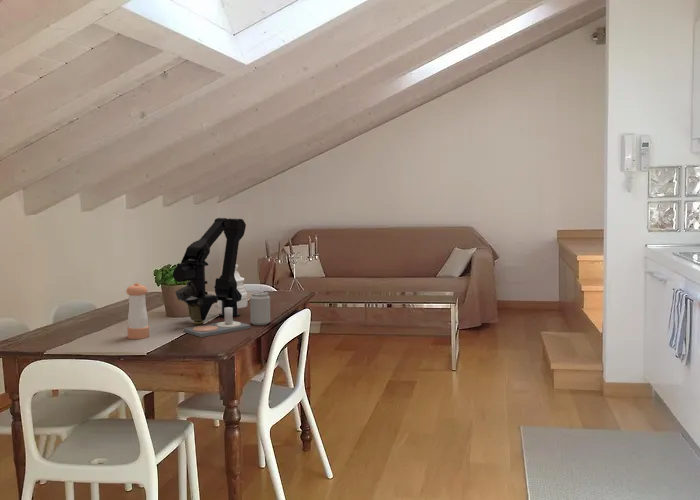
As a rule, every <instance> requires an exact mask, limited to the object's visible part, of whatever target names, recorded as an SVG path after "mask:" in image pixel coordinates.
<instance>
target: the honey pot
mask: <svg viewBox="0 0 700 500" xmlns="http://www.w3.org/2000/svg"><path fill="white" fill-rule="evenodd" d="M238 268H239V264H236V267H235V274H234V277H235V280H236V282H237V290H238V291H239V292H240V294H241V295H242V297H241V300H240V301H238V302H237V309H241V308H242V309H243V308H247V307H248V304H249V303H248V301H249V300H248V292H247V290H246V285H245V284H244V281H245V277H241V275H240V273H239V271H238V270H237V269H238ZM217 307H218V308H220V309H222V300H218V302H217Z"/></svg>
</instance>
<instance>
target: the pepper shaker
mask: <svg viewBox="0 0 700 500" xmlns="http://www.w3.org/2000/svg"><path fill="white" fill-rule="evenodd" d="M147 293H148V288H147V287H146V286H145V285H143V284H140V283H139V282H134V284H131V285H129V286H128V287H127V289H126V294H127V295H128V306H129V307H128V315H127V322H128V327H127V329H126V330H127V338H128V339H131V340H142V339H147V338H149V337H150V326H149V324H148V321H149V318H148V317H149V316H148V312H147V311H148V310H147V306H146V304H147V303H146V294H147Z"/></svg>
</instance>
